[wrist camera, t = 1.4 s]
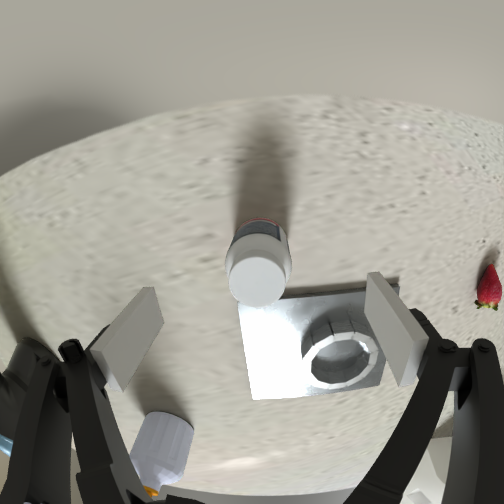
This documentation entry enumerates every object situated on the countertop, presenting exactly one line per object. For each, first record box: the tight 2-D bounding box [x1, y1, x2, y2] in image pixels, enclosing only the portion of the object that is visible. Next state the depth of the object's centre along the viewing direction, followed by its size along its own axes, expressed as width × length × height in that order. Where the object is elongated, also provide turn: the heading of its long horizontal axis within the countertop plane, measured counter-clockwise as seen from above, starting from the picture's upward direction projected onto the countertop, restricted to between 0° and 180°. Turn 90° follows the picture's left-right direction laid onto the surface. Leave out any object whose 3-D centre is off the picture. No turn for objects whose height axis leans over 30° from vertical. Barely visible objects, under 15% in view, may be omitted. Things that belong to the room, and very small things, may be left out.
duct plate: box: [237, 284, 400, 399], centre depth 29 cm, size 18×16×3 cm
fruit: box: [474, 264, 502, 311], centre depth 24 cm, size 4×6×5 cm
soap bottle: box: [129, 411, 194, 497], centre depth 28 cm, size 9×9×25 cm
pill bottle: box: [225, 218, 292, 308], centre depth 23 cm, size 5×5×9 cm
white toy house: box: [400, 437, 452, 504], centre depth 31 cm, size 19×15×25 cm
